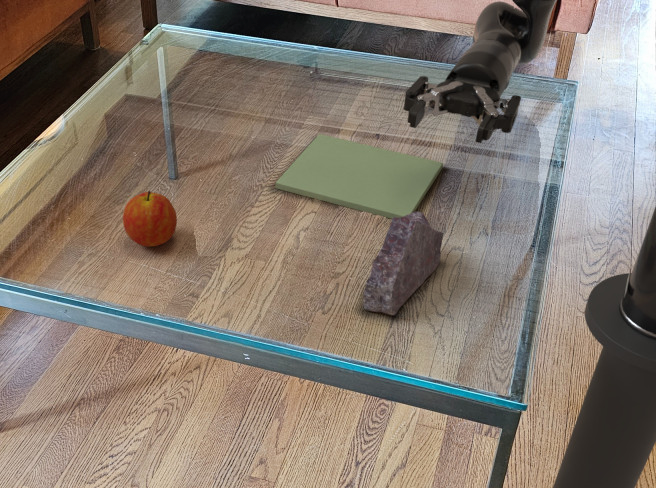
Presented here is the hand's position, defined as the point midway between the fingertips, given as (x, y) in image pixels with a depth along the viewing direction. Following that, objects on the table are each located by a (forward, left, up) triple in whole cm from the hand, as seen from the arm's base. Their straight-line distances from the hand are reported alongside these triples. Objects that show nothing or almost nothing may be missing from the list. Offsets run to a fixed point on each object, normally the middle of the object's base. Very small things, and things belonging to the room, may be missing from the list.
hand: (446, 128), depth 105 cm
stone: (0, +14, -15) cm, 20 cm away
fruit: (+32, +20, -15) cm, 41 cm away
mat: (+13, -7, -14) cm, 21 cm away
